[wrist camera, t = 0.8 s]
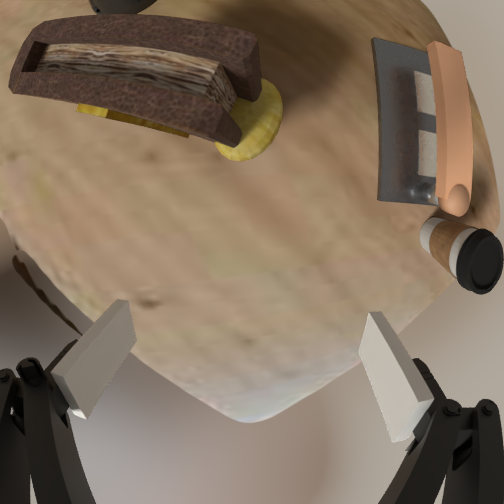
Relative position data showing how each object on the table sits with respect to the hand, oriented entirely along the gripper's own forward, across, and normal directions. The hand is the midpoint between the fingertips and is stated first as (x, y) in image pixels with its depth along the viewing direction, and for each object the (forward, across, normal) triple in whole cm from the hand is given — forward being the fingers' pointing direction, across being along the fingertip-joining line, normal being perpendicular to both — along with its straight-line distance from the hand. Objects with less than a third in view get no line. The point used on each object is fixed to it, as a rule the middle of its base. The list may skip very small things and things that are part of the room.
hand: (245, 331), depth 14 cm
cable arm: (+20, +25, +17) cm, 36 cm away
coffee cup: (+27, +29, 0) cm, 39 cm away
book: (+27, -8, +16) cm, 32 cm away
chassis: (+27, +24, +18) cm, 40 cm away
